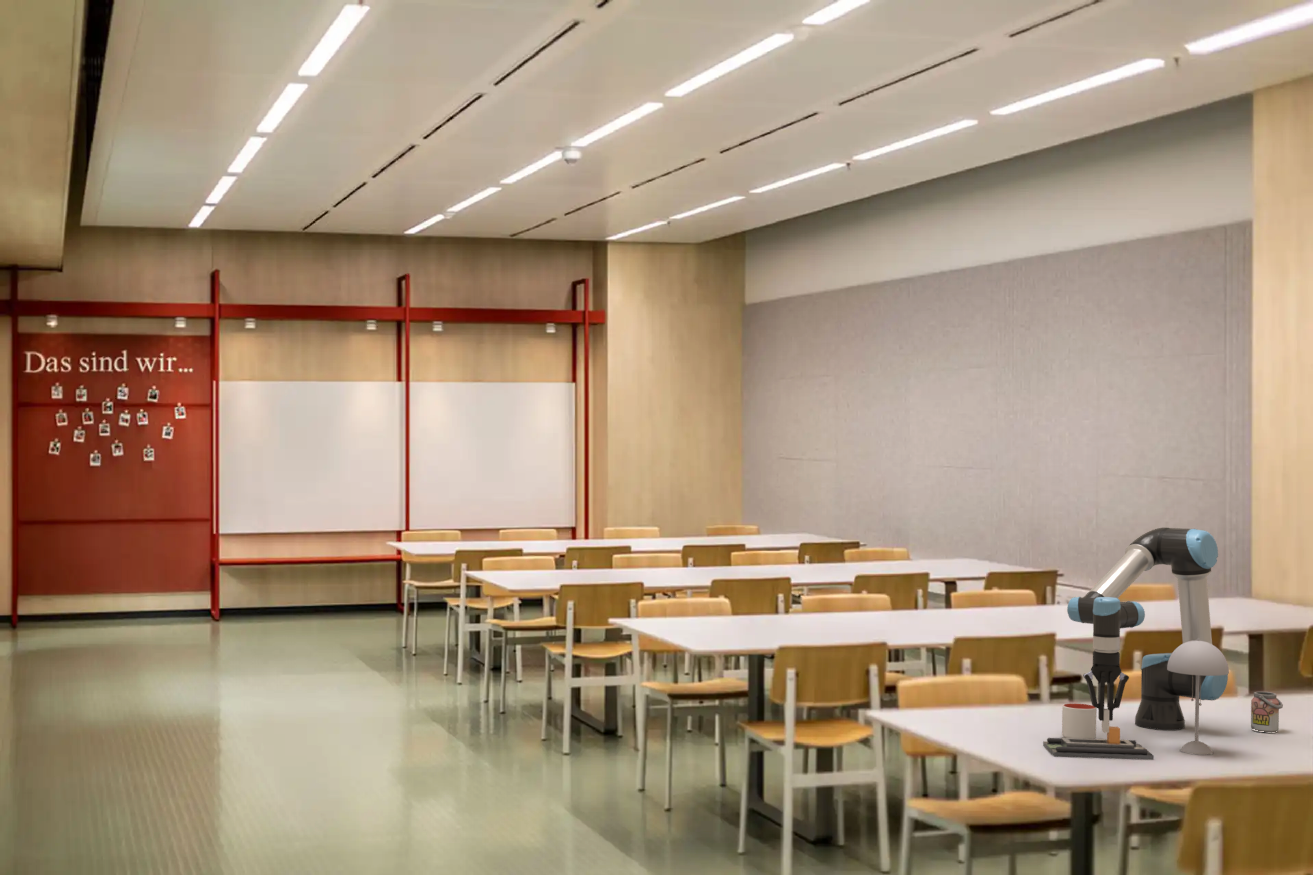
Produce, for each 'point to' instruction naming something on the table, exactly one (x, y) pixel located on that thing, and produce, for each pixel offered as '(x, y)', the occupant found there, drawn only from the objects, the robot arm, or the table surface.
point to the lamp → (1197, 678)
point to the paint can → (1265, 712)
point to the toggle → (1113, 735)
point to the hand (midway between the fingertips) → (1105, 731)
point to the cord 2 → (1101, 750)
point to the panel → (1098, 755)
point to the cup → (1079, 721)
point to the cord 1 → (1058, 740)
